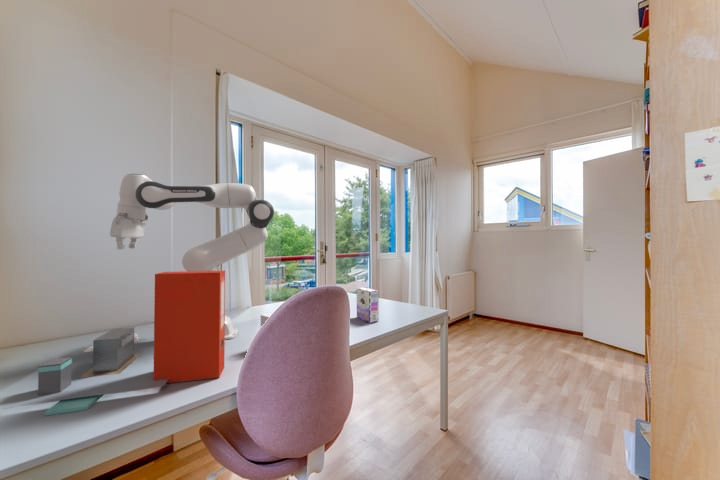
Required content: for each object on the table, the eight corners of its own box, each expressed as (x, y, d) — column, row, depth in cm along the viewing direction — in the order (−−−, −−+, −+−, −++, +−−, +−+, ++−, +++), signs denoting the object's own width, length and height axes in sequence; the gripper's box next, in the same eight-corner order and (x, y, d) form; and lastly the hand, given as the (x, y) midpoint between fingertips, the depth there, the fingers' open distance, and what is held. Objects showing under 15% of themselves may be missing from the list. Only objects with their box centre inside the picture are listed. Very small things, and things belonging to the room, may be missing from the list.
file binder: (164, 373, 90) (165, 271, 90) (224, 367, 94) (225, 270, 94) (153, 385, 82) (154, 274, 82) (218, 378, 86) (219, 272, 86)
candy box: (379, 321, 148) (379, 290, 148) (369, 323, 145) (369, 291, 145) (365, 316, 160) (365, 286, 160) (356, 317, 157) (356, 287, 157)
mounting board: (141, 357, 101) (141, 353, 101) (120, 378, 86) (120, 373, 86) (106, 361, 98) (106, 357, 98) (78, 383, 83) (78, 378, 83)
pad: (104, 393, 78) (104, 390, 78) (87, 409, 70) (87, 406, 70) (67, 398, 75) (67, 395, 75) (45, 415, 67) (45, 412, 67)
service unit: (134, 356, 99) (135, 327, 99) (118, 370, 88) (118, 338, 88) (111, 358, 97) (111, 329, 97) (91, 373, 86) (92, 340, 86)
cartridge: (71, 389, 79) (71, 357, 80) (60, 398, 75) (60, 363, 75) (50, 392, 78) (50, 359, 78) (37, 401, 74) (38, 366, 74)
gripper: (128, 213, 104) (123, 250, 104) (150, 217, 124) (146, 248, 123) (107, 210, 102) (101, 249, 102) (133, 215, 122) (128, 247, 122)
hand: (126, 248), depth 113 cm, fingers open, 8 cm apart
